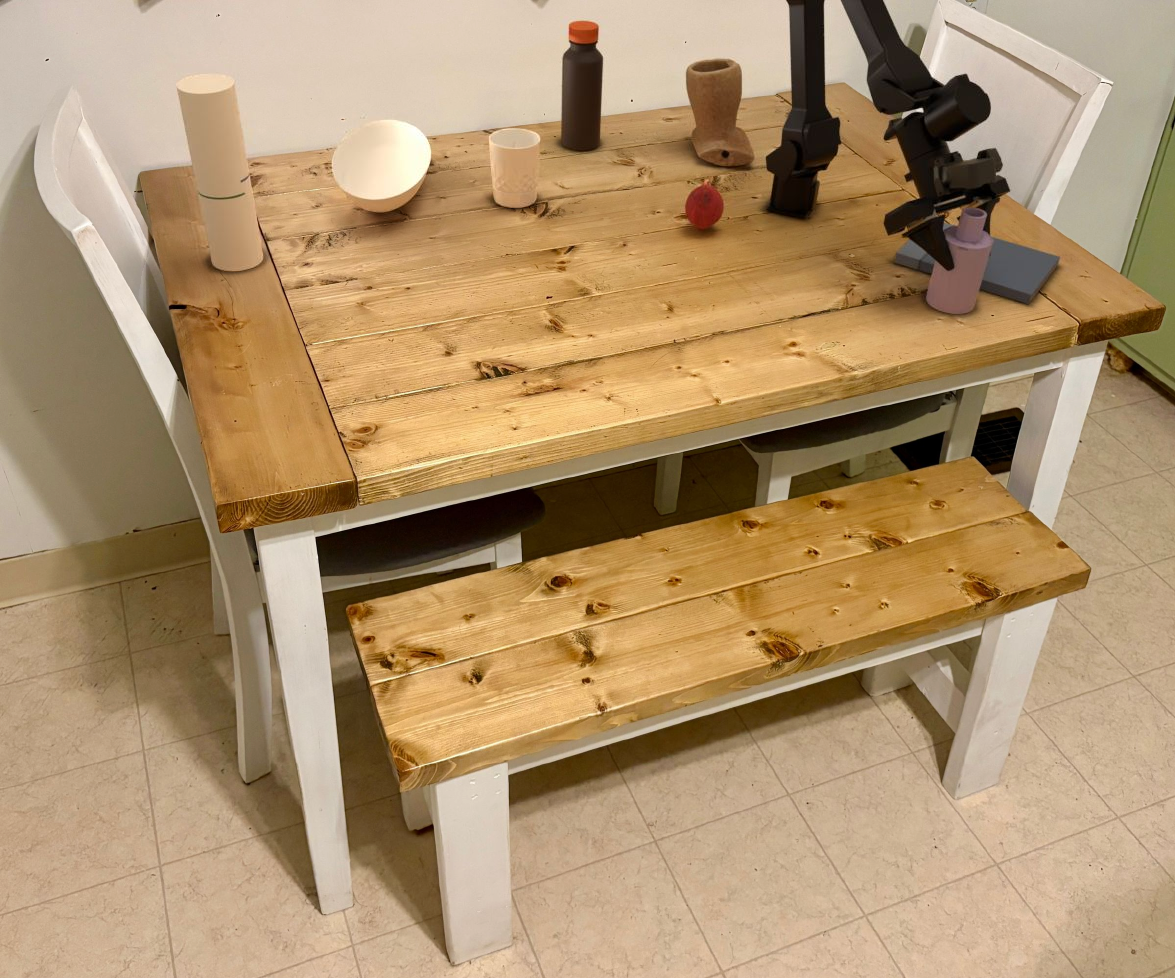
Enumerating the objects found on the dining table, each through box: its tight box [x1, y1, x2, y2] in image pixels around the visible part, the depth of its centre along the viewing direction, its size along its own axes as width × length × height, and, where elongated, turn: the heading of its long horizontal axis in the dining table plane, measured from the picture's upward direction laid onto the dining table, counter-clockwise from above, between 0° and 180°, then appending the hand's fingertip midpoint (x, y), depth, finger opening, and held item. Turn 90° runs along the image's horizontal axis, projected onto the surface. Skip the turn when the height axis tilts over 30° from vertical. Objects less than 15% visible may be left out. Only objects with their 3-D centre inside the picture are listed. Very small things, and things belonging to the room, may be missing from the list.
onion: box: [684, 178, 725, 231], centre depth 169 cm, size 6×6×8 cm
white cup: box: [488, 127, 542, 209], centre depth 175 cm, size 8×8×10 cm
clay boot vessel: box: [685, 58, 756, 167], centre depth 190 cm, size 15×12×15 cm
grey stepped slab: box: [894, 221, 1061, 305], centre depth 166 cm, size 20×14×2 cm
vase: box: [925, 207, 993, 315], centre depth 153 cm, size 7×7×14 cm
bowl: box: [331, 119, 432, 213], centre depth 176 cm, size 30×15×6 cm, turn 4°
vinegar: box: [560, 20, 604, 152], centre depth 189 cm, size 7×7×20 cm
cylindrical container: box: [175, 73, 264, 272], centre depth 152 cm, size 7×7×25 cm
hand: (969, 263), depth 152 cm, fingers closed on vase, 7 cm apart
